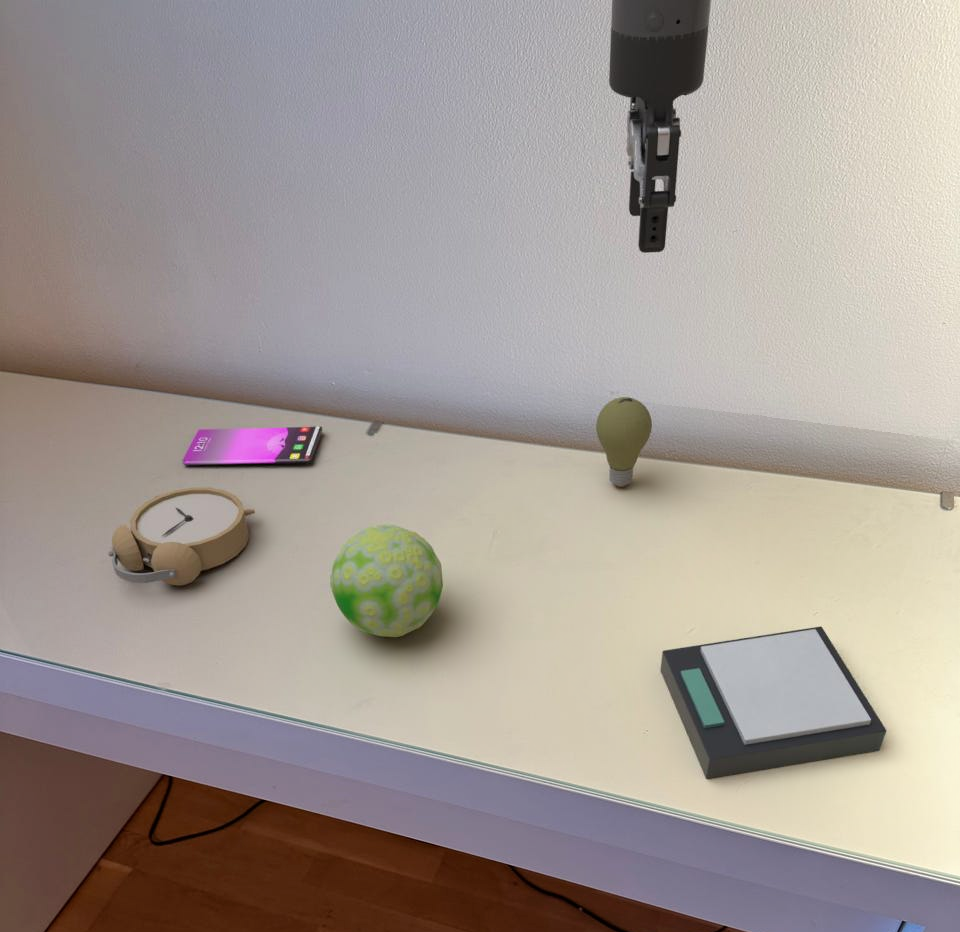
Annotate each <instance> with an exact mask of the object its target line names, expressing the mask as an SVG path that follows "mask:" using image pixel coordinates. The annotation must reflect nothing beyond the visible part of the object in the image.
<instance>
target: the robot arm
mask: <svg viewBox="0 0 960 932" xmlns="http://www.w3.org/2000/svg"><path fill="white" fill-rule="evenodd" d="M711 5H712V0H611V21H610V22H611V23H610V44H609V45H610V46H609V47H610V48H609V50H610V51H609V72H608V73H609V74H608V83H609V88H610V89H611V90H612V91H613V92H614V93H615V94H617V95H619V96H622V97H625V98H629V99H630V102H629V110H627V114H626V129H627V130H626V131H627V133H626V134H627V135H626V154H627V156H628V157H629V158H628V159H627V166H628V169H629V170H630V177H629V178H630V179H629V181H630V182H629V200H628V211H629V215H630V216H631V217H639V226H638V241H637V246H638V250H639V251H640V252H641V253H661V252H663V251H664V249H666V239H667V227H668V214H669V208H674V206H675V203H676V202H677V195H676V190H677V176H678V162H679V151H680V150H679V149H680V138H681V137H682V130H681V118H680V117H679V116H677V109H676V108H675V107H674V102H675V100H677V98H679V97H681V96H688V95H691V94H693V93H695V92H697V91H698V90H699V89H700V88H701V87H702V86H703V83H704V78H705V66H706V57H707V56H706V55H707V46H708V36H709V35H708V34H709V27H710V26H709V25H710V16H711V15H710V14H711ZM657 180H661V181H662V183H663V190H656V181H657Z"/></svg>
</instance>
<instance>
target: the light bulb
mask: <svg viewBox="0 0 960 932" xmlns="http://www.w3.org/2000/svg"><path fill="white" fill-rule="evenodd" d="M595 425H596V426H595V431H596V435H597V438H598V441H599V442H600V445H601V447H602V448H603V450H604V453H605V455H606V456H605V457H606V462H607V463H608V466H609V475H608V477H609V482H610V483H611V484H613V485H615V486H616V487H618V488H624V487H625V486H627V485H629V484H631V483H632V482H633V477H634V467H635V465H636V463H637V461H638V458H639V456H640V453H641V451H642V450H643V449H644V447H645V446H646V444H647V443H648V441H649V439H650V436H651V434H652V429H653V423H652V417H651V414H650V411H649V410H648V408H647V407H646V405H644V404H643V402H641V401H639V400H638V399H635V398H634V397H628V396H621V397H616V398H614V399H611V400H609V402H607V403H606V404H605V405H603V407H602V408H601V410H600V411H599V414H598V416H597V418H596V424H595Z"/></svg>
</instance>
